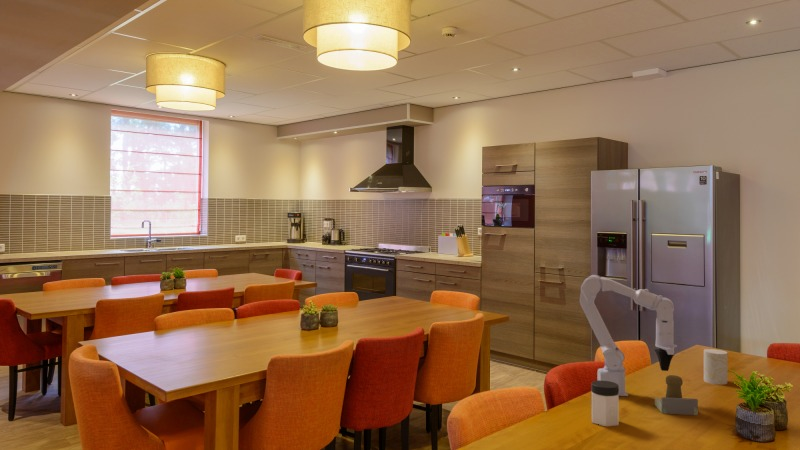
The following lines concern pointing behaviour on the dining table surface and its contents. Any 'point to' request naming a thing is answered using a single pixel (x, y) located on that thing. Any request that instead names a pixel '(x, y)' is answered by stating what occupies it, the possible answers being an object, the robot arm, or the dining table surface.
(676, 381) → the cork
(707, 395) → the dining table surface
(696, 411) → the grey rectangular box
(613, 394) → the jar
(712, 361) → the white stone cylinder
